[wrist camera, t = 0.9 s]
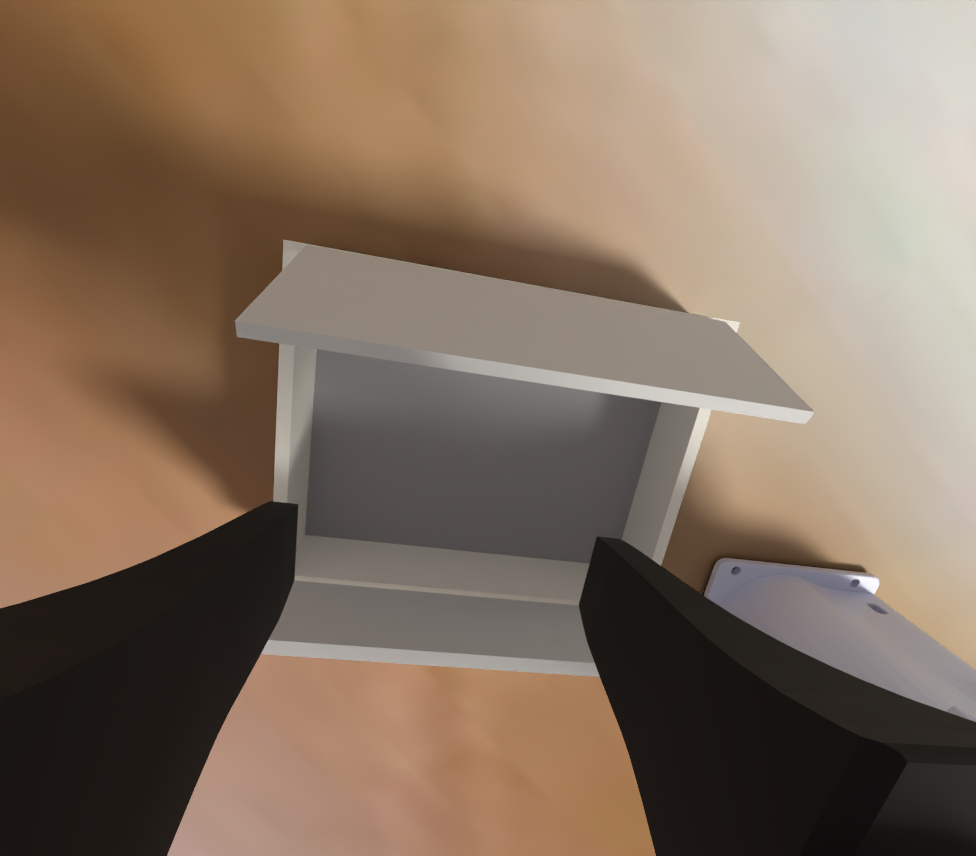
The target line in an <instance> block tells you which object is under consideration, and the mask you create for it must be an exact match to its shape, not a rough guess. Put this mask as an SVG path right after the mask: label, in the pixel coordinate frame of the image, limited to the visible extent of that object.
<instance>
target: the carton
mask: <svg viewBox="0 0 976 856" xmlns="http://www.w3.org/2000/svg"><path fill="white" fill-rule="evenodd" d="M305 246H312V247H317V248H323V249H328V250H334V251H339V252H345V253H350V254H356V255H361V256H367V257H372V258H378V259H383V260H389V261H394V262H400V263H405V264H411V265H416V266H422V267H427V268H433V269H438V270H444V271H449V272H455V273H460V274H466V275H471V276H477V277H482V278H488V279H493V280H499V281H504V282H510V283H515V284H521V285H527V286H532V287H538V288H543V289H549V290H554V291H560V292H565V293H571V294H576V295H582V296H587V297H593V298H598V299H604V300H609V301H615V302H620V303H626V304H631V305H637V306H642V307H648V308H653V309H659V310H664V311H670V312H675V313H681V314H686V315H692V316H697V317H703V318H708V319H714V320H719V321H725V322H726V323H727V324H728V325H729V326H730V327H731V328H732V329H733V330H734V331H735V332H736V333H737V330H738V327H739V324H740V322H734V321H729V320H723V319H718V318H712V317H707V316H701V315H696V314H690V313H685V312H679V311H674V310H668V309H663V308H657V307H652V306H646V305H641V304H635V303H630V302H624V301H619V300H613V299H608V298H602V297H597V296H591V295H586V294H580V293H575V292H569V291H564V290H558V289H553V288H547V287H542V286H536V285H531V284H525V283H520V282H514V281H509V280H503V279H498V278H492V277H487V276H482V275H476V274H471V273H465V272H460V271H454V270H449V269H443V268H438V267H432V266H427V265H421V264H416V263H410V262H405V261H399V260H394V259H388V258H383V257H377V256H372V255H366V254H361V253H355V252H350V251H344V250H339V249H333V248H328V247H322V246H317V245H311V244H306V243H300V242H295V241H289V240H284V239H283V264H282V270H283V269H284V268H285V267H286V266H287V265H288V264H289V263H290V262H291V261H292V260H293V259H294V258H295V257H296V256H297V254H298V253H299V252H300V251H301V250H302V249H303V248H304V247H305ZM710 413H711V409H704V408H698V407H691V406H685V405H678V404H672V403H665V402H658V401H652V400H645V399H639V398H632V397H626V396H619V395H613V394H606V393H600V392H593V391H587V390H580V389H574V388H567V387H561V386H554V385H547V384H541V383H534V382H528V381H521V380H515V379H508V378H502V377H495V376H489V375H482V374H476V373H469V372H463V371H456V370H449V369H443V368H436V367H430V366H423V365H417V364H410V363H404V362H397V361H391V360H384V359H378V358H371V357H365V356H358V355H352V354H345V353H338V352H332V351H325V350H319V349H312V348H306V347H299V346H293V345H286V344H280V343H279V366H278V391H277V417H276V442H275V468H274V493H273V501H274V502H283V503H293V504H298V522H297V541H296V560H295V581H307V582H318V583H329V584H341V585H352V586H363V587H375V588H386V589H397V590H409V591H420V592H431V593H443V594H454V595H465V596H477V597H488V598H499V599H511V600H522V601H533V602H545V603H556V604H567V605H579V602H580V598H581V594H582V590H583V586H584V583H585V579H586V575H587V571H588V568H589V564H590V560H591V556H592V552H593V549H594V545H595V541H596V537H597V536H598V537H607V538H617V539H621V540H623V541H625V542H627V543H628V544H630V545H632V546H633V547H635V548H636V549H638V550H639V551H641V552H642V553H643V554H645V555H646V556H648V557H649V558H651V559H652V560H653V561H655V562H656V563H658V564H659V565H660V566H661V565H662V562H663V558H664V555H665V552H666V549H667V546H668V543H669V540H670V537H671V534H672V531H673V528H674V525H675V521H676V518H677V515H678V512H679V509H680V506H681V503H682V500H683V497H684V494H685V491H686V488H687V484H688V481H689V478H690V475H691V472H692V469H693V466H694V463H695V460H696V457H697V454H698V451H699V447H700V444H701V441H702V438H703V435H704V432H705V429H706V426H707V423H708V420H709V417H710Z"/></svg>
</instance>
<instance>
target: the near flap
mask: <svg viewBox="0 0 976 856" xmlns="http://www.w3.org/2000/svg"><path fill="white" fill-rule="evenodd" d="M235 326H236V333H237V337H241V338H247V339H254V340H260V341H267V342H273V343H280V344H286V345H293V346H299V347H306V348H312V349H319V350H325V351H332V352H338V353H345V354H352V355H358V356H365V357H371V358H378V359H384V360H391V361H397V362H404V363H410V364H417V365H423V366H430V367H436V368H443V369H449V370H456V371H463V372H469V373H476V374H482V375H489V376H495V377H502V378H508V379H515V380H521V381H528V382H534V383H541V384H547V385H554V386H561V387H567V388H574V389H580V390H587V391H593V392H600V393H606V394H613V395H619V396H626V397H632V398H639V399H645V400H652V401H658V402H665V403H672V404H678V405H685V406H691V407H698V408H704V409H711V410H717V411H724V412H730V413H737V414H743V415H750V416H756V417H763V418H769V419H776V420H783V421H789V422H796V423H802V424H806V423H807V421H808V420H809V419H810V418H811V416H812V415H813V414H814V411H813V410H812V409H811V408H810V407H809V406H808V405H807V404H806V403H805V402H804V401H803V400H802V399H801V398H800V397H799V396H798V395H797V394H796V393H795V392H794V391H793V390H792V389H791V388H790V387H789V386H788V385H787V384H786V383H785V382H784V381H783V380H782V379H781V377H780V376H779V375H778V374H777V373H776V372H775V371H774V370H773V369H772V368H771V367H770V366H769V365H768V364H767V363H766V362H765V361H764V360H763V359H762V358H761V357H760V356H759V355H758V354H757V353H756V352H755V351H754V350H753V349H752V348H751V347H750V346H749V345H748V344H747V343H746V342H745V341H744V340H743V339H742V338H741V337H740V336H739V335H738V334H737V333H736V332H735V331H734V330H733V329H732V328H731V327H730V326H729V325H728V324H727V323H726V322H725V321H719V320H714V319H708V318H703V317H697V316H692V315H686V314H681V313H675V312H670V311H664V310H659V309H653V308H648V307H642V306H637V305H631V304H626V303H620V302H615V301H609V300H604V299H598V298H593V297H587V296H582V295H576V294H571V293H565V292H560V291H554V290H549V289H543V288H538V287H532V286H527V285H521V284H515V283H510V282H504V281H499V280H493V279H488V278H482V277H477V276H471V275H466V274H460V273H455V272H449V271H444V270H438V269H433V268H427V267H422V266H416V265H411V264H405V263H400V262H394V261H389V260H383V259H378V258H372V257H367V256H361V255H356V254H350V253H345V252H339V251H334V250H328V249H323V248H317V247H312V246H305V247H304V248H303V249H302V250H301V251H300V252H299V253H298V254H297V256H296V257H295V258H294V259H293V260H292V261H291V262H290V263H289V264H288V265H287V266H286V267H285V268H284V269H283V270H282V271H281V272H280V273H279V275H278V276H277V277H276V278H275V279H274V280H273V281H272V282H271V283H270V284H269V285H268V286H267V287H266V288H265V289H264V290H263V291H262V292H261V294H260V295H259V296H258V297H257V298H256V299H255V300H254V301H253V302H252V303H251V304H250V305H249V306H248V307H247V308H246V309H245V310H244V311H243V313H242V314H241V315H240V316H239V317H238V318H237V319H236V320H235Z"/></svg>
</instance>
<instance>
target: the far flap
mask: <svg viewBox="0 0 976 856" xmlns="http://www.w3.org/2000/svg"><path fill="white" fill-rule="evenodd" d="M261 654H267V655H282V656H297V657H312V658H327V659H341V660H356V661H371V662H386V663H401V664H416V665H431V666H446V667H460V668H475V669H490V670H505V671H520V672H535V673H550V674H564V675H579V676H594V677H600V675H599V673H598V670H597V668H596V665H595V662H594V660H593V657H592V654H591V652H590V649H589V646H588V643H587V640H586V636H585V632H584V628H583V623H582V619H581V614H580V609H579V605H567V604H556V603H545V602H533V601H522V600H511V599H499V598H488V597H477V596H465V595H454V594H443V593H431V592H420V591H409V590H397V589H386V588H375V587H363V586H352V585H341V584H329V583H318V582H307V581H295V580H294V583H293V585H292V588H291V591H290V593H289V596H288V599H287V601H286V604H285V606H284V609H283V611H282V614H281V616H280V619H279V621H278V623H277V625H276V627H275V628H274V630H273V632H272V634H271V636H270V638H269V640H268V641H267V643H266V645H265V647H264V649H263V651H262V653H261Z"/></svg>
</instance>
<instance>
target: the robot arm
mask: <svg viewBox="0 0 976 856" xmlns="http://www.w3.org/2000/svg"><path fill="white" fill-rule="evenodd" d="M297 522H298V504H293V503H283V502H274V501H270V502H268V503H265V504H263V505H261V506H259V507H257V508H255V509H253V510H251V511H249V512H247V513H245V514H243V515H241V516H239V517H237V518H236V519H234V520H232V521H230V522H228V523H226V524H224V525H222V526H220V527H218V528H216V529H214V530H212V531H210V532H208V533H206V534H204V535H202V536H200V537H198V538H196V539H194V540H191V541H189V542H187V543H185V544H183V545H181V546H178V547H176V548H174V549H172V550H170V551H167V552H165V553H163V554H161V555H159V556H157V557H154V558H152V559H149V560H147V561H145V562H142V563H140V564H137V565H135V566H132V567H130V568H127V569H124V570H122V571H119V572H116V573H113V574H111V575H108V576H105V577H102V578H100V579H97V580H94V581H91V582H88V583H85V584H82V585H79V586H75V587H72V588H69V589H66V590H62V591H59V592H56V593H52V594H49V595H46V596H42V597H39V598H36V599H33V600H29V601H26V602H23V603H19V604H16V605H12V606H8V607H4V608H0V856H167V854H168V851H169V849H170V846H171V844H172V841H173V839H174V837H175V834H176V832H177V829H178V827H179V825H180V822H181V820H182V817H183V815H184V812H185V810H186V808H187V805H188V803H189V800H190V798H191V795H192V793H193V791H194V788H195V786H196V784H197V781H198V779H199V777H200V774H201V772H202V770H203V767H204V765H205V763H206V760H207V758H208V756H209V753H210V751H211V749H212V746H213V744H214V742H215V739H216V737H217V735H218V733H219V731H220V729H221V727H222V725H223V723H224V721H225V719H226V717H227V715H228V713H229V711H230V709H231V707H232V705H233V704H234V702H235V700H236V698H237V696H238V694H239V693H240V691H241V689H242V687H243V685H244V684H245V682H246V680H247V678H248V676H249V674H250V673H251V671H252V669H253V667H254V665H255V663H256V662H257V660H258V658H259V656H260V654H261V653H262V651H263V649H264V647H265V645H266V643H267V641H268V640H269V638H270V636H271V634H272V632H273V630H274V628H275V627H276V625H277V623H278V621H279V619H280V616H281V614H282V611H283V609H284V606H285V604H286V601H287V599H288V596H289V593H290V591H291V588H292V585H293V583H294V580H295V560H296V541H297ZM734 567H736V568H735V569H734V570H732V569H733V568H734ZM731 570H732V571H731ZM878 586H879V579H878V578H877V577H876V576H874V575H873V574H871V573H864V572H854V571H845V570H836V569H826V568H817V567H808V566H799V565H789V564H780V563H771V562H761V561H752V560H743V559H733V558H722V559H719V560H718V561H717V562H716V564H715V565H714V568H713V571H712V574H711V576H710V579H709V582H708V585H707V587H706V590H705V593H704V596H703V595H702V594H700V593H699V592H697V591H696V590H694V589H693V588H691V587H690V586H689V585H687V584H686V583H684V582H683V581H681V580H680V579H679V578H677V577H676V576H674V575H673V574H672V573H670V572H669V571H667V570H666V569H665V568H663V567H662V566H660V565H659V564H658V563H656V562H655V561H653V560H652V559H651V558H649V557H648V556H646V555H645V554H643V553H642V552H641V551H639V550H638V549H636V548H635V547H633V546H632V545H630V544H628V543H627V542H625V541H623V540H621V539H617V538H607V537H598V536H597V537H596V541H595V545H594V549H593V552H592V556H591V560H590V564H589V568H588V571H587V575H586V579H585V583H584V586H583V590H582V594H581V598H580V602H579V609H580V614H581V619H582V623H583V628H584V632H585V636H586V640H587V643H588V646H589V649H590V652H591V654H592V657H593V660H594V662H595V665H596V668H597V670H598V673H599V675H600V678H601V681H602V683H603V686H604V688H605V691H606V694H607V696H608V699H609V701H610V704H611V706H612V709H613V712H614V714H615V717H616V719H617V722H618V724H619V727H620V730H621V732H622V735H623V738H624V741H625V744H626V747H627V750H628V753H629V756H630V759H631V763H632V766H633V770H634V774H635V777H636V781H637V784H638V788H639V791H640V795H641V799H642V802H643V806H644V810H645V814H646V818H647V822H648V826H649V830H650V833H651V837H652V841H653V845H654V849H655V853H656V856H976V670H975V669H974V668H972V667H971V666H970V665H968V664H967V663H966V662H964V661H963V660H961V659H960V658H959V657H957V656H956V655H955V654H953V653H952V652H951V651H949V650H948V649H947V648H945V647H944V646H943V645H941V644H940V643H939V642H937V641H936V640H935V639H933V638H932V637H930V636H929V635H928V634H926V633H925V632H924V631H922V630H921V629H920V628H918V627H917V626H916V625H914V624H913V623H912V622H910V621H909V620H908V619H906V618H905V617H904V616H902V615H901V614H899V613H898V612H897V611H895V610H894V609H893V608H891V607H890V606H889V605H887V604H886V603H885V602H883V601H882V600H881V599H879V598H878V597H877V596H875V595H874V594H875V592H876V590H877V588H878Z"/></svg>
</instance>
